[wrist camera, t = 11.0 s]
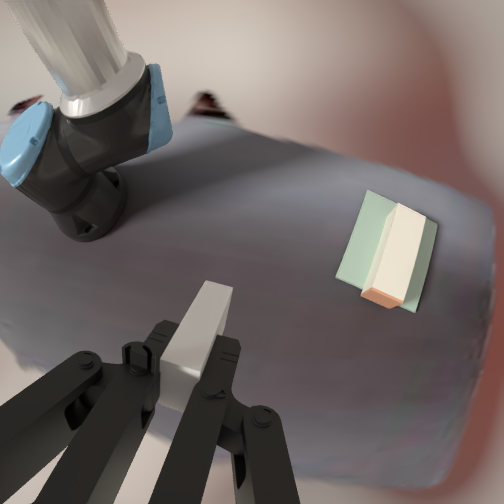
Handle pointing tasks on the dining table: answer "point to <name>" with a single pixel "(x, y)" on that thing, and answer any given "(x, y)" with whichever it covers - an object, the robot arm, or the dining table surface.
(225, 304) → the robot arm
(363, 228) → the sage mat
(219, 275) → the dining table surface
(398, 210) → the cream block
